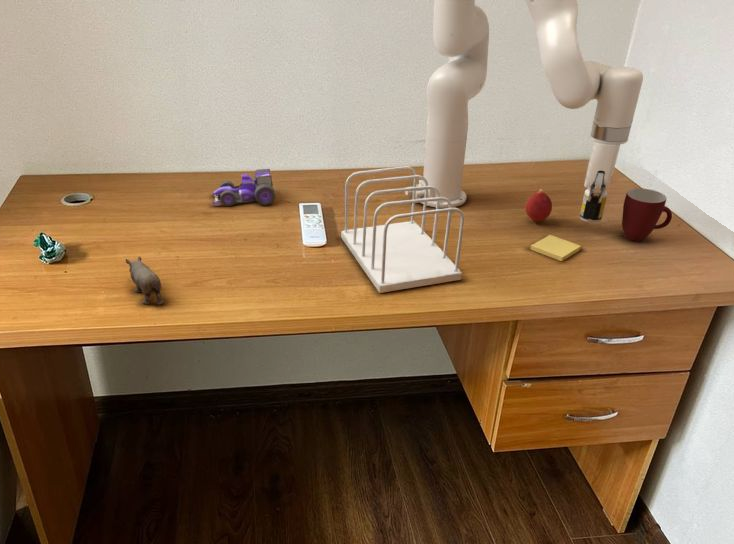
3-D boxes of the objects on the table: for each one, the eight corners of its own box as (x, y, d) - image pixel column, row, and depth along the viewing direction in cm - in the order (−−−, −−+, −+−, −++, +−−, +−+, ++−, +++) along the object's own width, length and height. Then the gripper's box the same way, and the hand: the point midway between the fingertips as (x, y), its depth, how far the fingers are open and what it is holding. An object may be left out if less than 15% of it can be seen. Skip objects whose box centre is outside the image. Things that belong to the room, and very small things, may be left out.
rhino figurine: (143, 273, 134) (138, 246, 130) (168, 303, 124) (163, 275, 121) (123, 278, 132) (117, 251, 128) (146, 309, 122) (141, 281, 119)
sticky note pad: (561, 261, 138) (562, 257, 138) (530, 249, 143) (530, 245, 142) (580, 250, 143) (581, 245, 142) (549, 238, 147) (549, 234, 147)
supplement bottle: (602, 216, 150) (611, 180, 145) (599, 224, 147) (608, 188, 142) (580, 213, 152) (588, 177, 147) (577, 220, 148) (585, 184, 143)
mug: (654, 229, 151) (667, 187, 145) (671, 245, 145) (685, 202, 139) (609, 230, 151) (620, 188, 145) (623, 246, 144) (635, 203, 138)
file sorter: (340, 238, 147) (341, 170, 138) (413, 228, 151) (418, 161, 142) (379, 293, 127) (382, 218, 118) (461, 281, 132) (471, 207, 122)
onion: (549, 219, 156) (556, 186, 151) (547, 229, 151) (554, 195, 147) (524, 215, 157) (530, 183, 153) (521, 225, 153) (527, 192, 148)
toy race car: (212, 193, 167) (210, 168, 163) (272, 190, 169) (271, 165, 165) (213, 209, 160) (210, 183, 156) (275, 205, 162) (274, 179, 158)
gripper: (593, 118, 146) (576, 197, 156) (588, 142, 133) (570, 226, 143) (630, 122, 143) (610, 202, 154) (628, 146, 130) (606, 231, 141)
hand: (591, 212), depth 148 cm, fingers closed on supplement bottle, 4 cm apart
